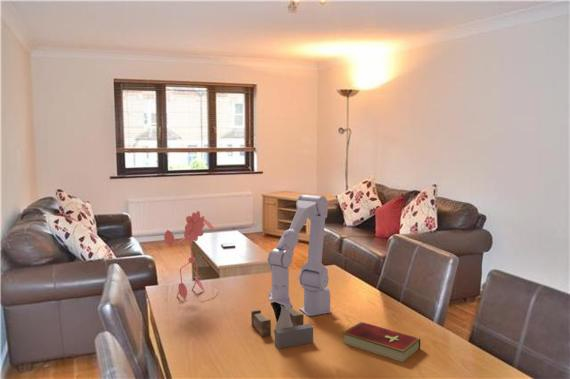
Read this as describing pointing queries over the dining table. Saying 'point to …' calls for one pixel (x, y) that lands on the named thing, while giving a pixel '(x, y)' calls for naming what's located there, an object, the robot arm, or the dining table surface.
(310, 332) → the stop
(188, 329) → the dining table surface
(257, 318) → the housing
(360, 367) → the dining table surface
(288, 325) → the flask
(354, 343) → the hardcover book
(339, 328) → the dining table surface
